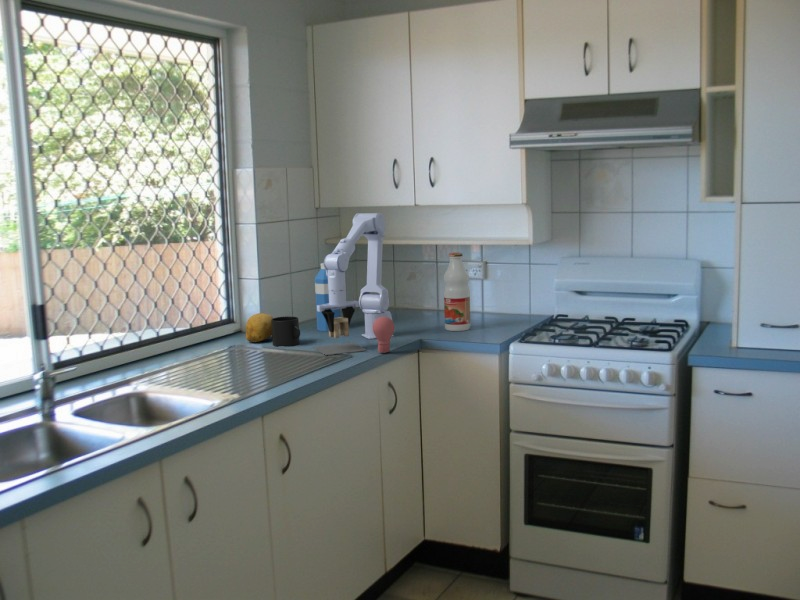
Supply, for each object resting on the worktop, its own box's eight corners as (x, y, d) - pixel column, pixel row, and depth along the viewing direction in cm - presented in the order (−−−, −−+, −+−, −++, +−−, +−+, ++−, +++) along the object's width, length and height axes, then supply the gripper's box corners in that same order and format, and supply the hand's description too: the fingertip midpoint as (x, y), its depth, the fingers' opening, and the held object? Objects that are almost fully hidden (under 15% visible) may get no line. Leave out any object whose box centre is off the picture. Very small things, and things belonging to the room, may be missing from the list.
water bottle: (344, 326, 327) (341, 261, 323) (338, 331, 318) (334, 264, 314) (320, 326, 328) (317, 262, 325) (313, 331, 319) (310, 264, 316)
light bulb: (396, 354, 273) (394, 318, 271) (374, 356, 272) (372, 319, 271) (394, 350, 280) (393, 314, 278) (373, 351, 279) (371, 315, 278)
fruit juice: (475, 329, 312) (474, 252, 307) (456, 332, 306) (453, 255, 302) (459, 325, 319) (457, 251, 315) (439, 329, 314) (437, 253, 310)
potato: (239, 343, 301) (237, 315, 300) (259, 336, 312) (257, 310, 311) (263, 345, 297) (261, 316, 295) (283, 338, 308) (281, 311, 307)
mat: (353, 343, 293) (353, 342, 293) (366, 351, 280) (366, 349, 280) (314, 348, 288) (313, 347, 288) (325, 355, 275) (325, 354, 275)
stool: (342, 334, 287) (341, 317, 286) (349, 336, 283) (347, 318, 282) (329, 336, 285) (327, 318, 284) (335, 338, 280) (334, 319, 280)
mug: (290, 348, 289) (288, 322, 287) (266, 345, 296) (265, 319, 295) (310, 343, 296) (309, 318, 294) (287, 340, 304) (285, 315, 302)
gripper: (350, 286, 288) (352, 326, 290) (311, 291, 281) (314, 331, 283) (360, 288, 282) (362, 329, 284) (321, 293, 275) (323, 334, 277)
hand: (339, 330), depth 283 cm, fingers closed on stool, 5 cm apart
